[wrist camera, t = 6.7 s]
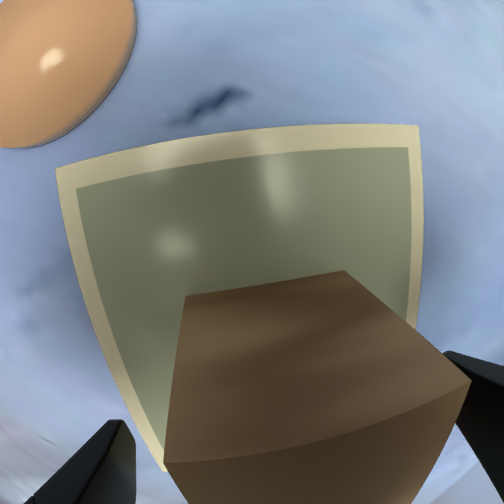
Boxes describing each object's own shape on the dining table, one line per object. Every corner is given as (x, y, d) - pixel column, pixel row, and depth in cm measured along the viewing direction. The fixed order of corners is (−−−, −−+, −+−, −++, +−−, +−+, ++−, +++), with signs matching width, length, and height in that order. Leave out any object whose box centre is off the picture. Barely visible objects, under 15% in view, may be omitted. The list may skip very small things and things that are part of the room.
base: (377, 131, 12) (423, 124, 9) (373, 392, 16) (398, 428, 13) (88, 167, 11) (50, 169, 8) (166, 431, 15) (162, 476, 11)
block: (343, 270, 10) (471, 380, 4) (341, 387, 11) (409, 506, 5) (185, 296, 9) (162, 462, 3) (214, 413, 11) (227, 553, 5)
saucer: (138, -47, 8) (133, -60, 7) (143, 116, 10) (135, 111, 9) (-15, 18, 7) (-26, 12, 6) (-23, 171, 10) (-38, 173, 9)
